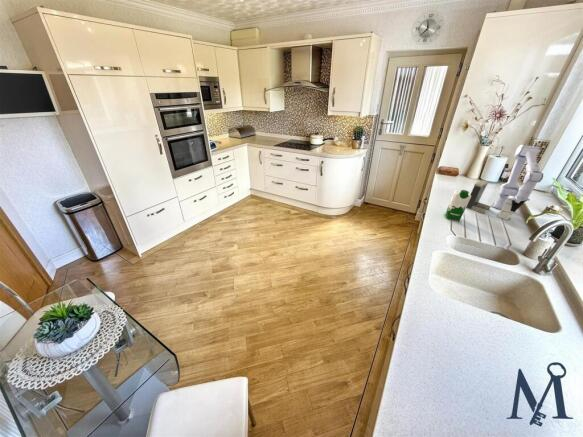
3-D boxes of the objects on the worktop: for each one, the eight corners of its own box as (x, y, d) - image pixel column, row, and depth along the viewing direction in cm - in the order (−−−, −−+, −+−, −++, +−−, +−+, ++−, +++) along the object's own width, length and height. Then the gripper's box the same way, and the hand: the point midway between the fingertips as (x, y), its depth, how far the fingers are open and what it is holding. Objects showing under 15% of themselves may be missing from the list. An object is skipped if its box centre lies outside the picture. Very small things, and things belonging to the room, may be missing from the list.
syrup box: (507, 220, 155) (519, 200, 148) (497, 216, 159) (507, 197, 152) (509, 217, 159) (520, 198, 151) (498, 214, 162) (509, 195, 155)
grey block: (470, 202, 177) (481, 180, 168) (489, 208, 169) (502, 185, 160) (463, 207, 170) (474, 183, 161) (483, 213, 162) (496, 189, 152)
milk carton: (445, 219, 153) (457, 191, 143) (443, 213, 160) (455, 186, 150) (460, 222, 150) (474, 194, 140) (458, 216, 157) (471, 188, 147)
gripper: (530, 195, 140) (518, 215, 147) (536, 190, 148) (524, 209, 154) (516, 191, 144) (505, 210, 151) (522, 186, 152) (511, 205, 159)
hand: (514, 209), depth 153 cm, fingers open, 7 cm apart
